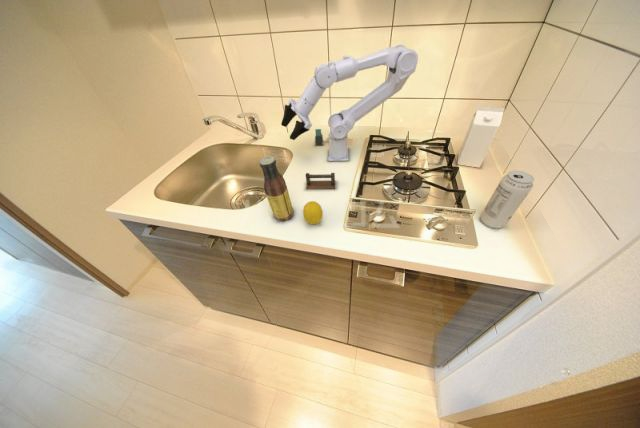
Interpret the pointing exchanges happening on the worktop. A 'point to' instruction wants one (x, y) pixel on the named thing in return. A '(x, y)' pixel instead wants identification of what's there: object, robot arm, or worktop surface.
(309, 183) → the handle rail
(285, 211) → the sauce bottle
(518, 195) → the energy drink can
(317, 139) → the clip
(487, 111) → the milk carton
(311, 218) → the lemon
